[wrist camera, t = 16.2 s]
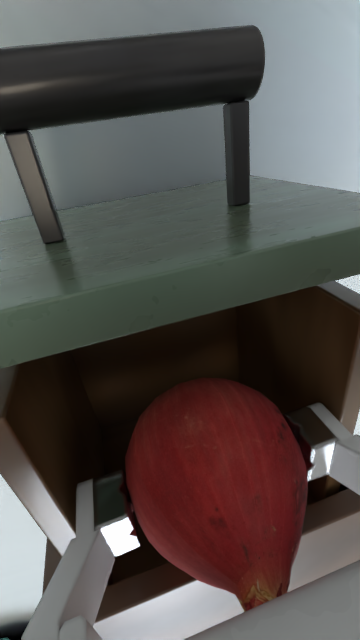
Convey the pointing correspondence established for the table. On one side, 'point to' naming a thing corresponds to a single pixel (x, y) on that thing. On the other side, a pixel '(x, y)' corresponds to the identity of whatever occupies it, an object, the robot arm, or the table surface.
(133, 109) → the drawer
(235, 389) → the onion
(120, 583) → the cabinet
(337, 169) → the table surface
